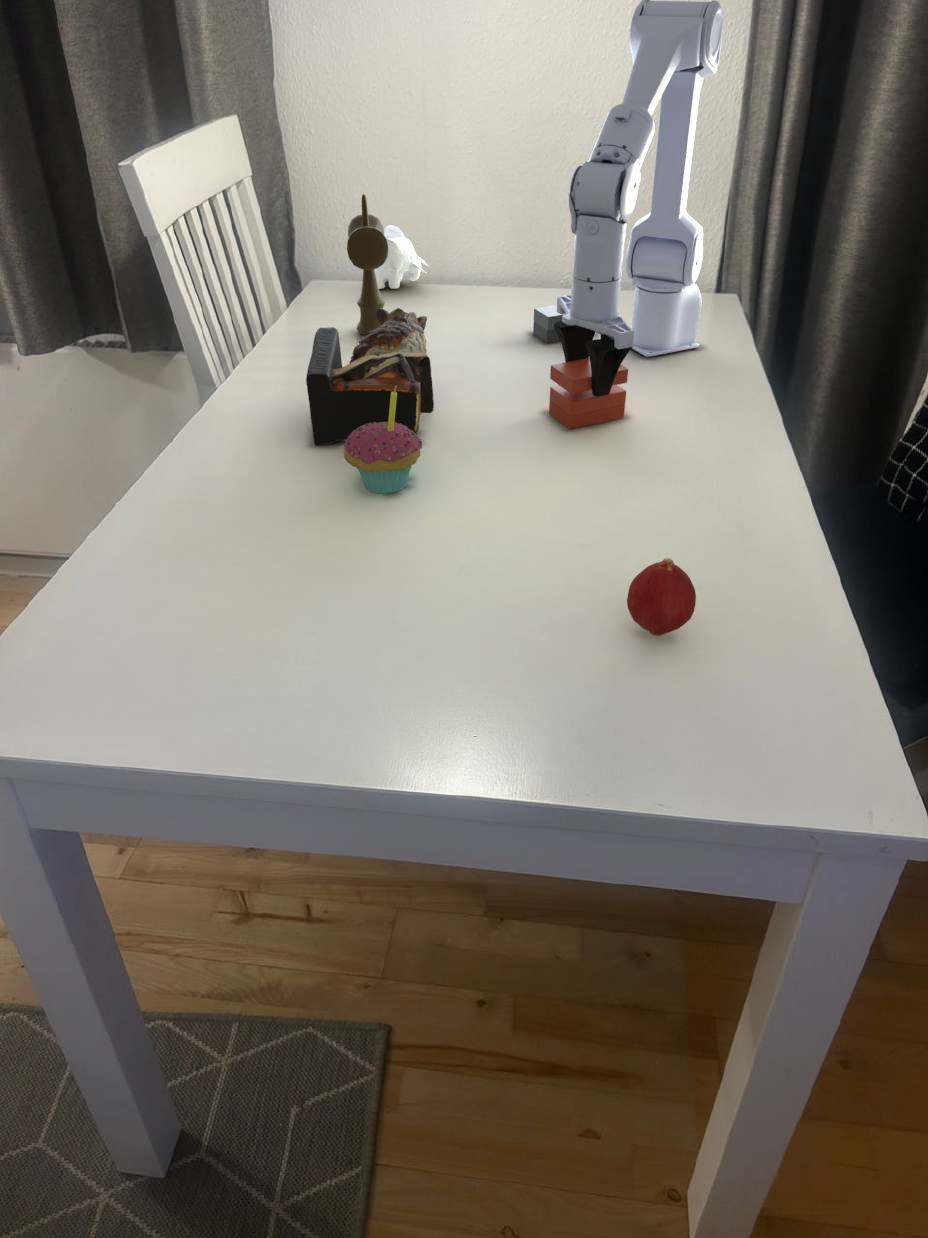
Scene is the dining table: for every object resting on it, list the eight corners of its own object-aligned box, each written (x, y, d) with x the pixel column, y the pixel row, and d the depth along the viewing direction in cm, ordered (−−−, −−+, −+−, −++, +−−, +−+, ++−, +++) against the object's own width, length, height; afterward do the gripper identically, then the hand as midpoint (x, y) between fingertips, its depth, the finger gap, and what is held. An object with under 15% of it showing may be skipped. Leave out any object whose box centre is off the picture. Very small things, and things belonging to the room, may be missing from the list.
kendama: (354, 343, 139) (342, 202, 126) (353, 322, 146) (342, 187, 134) (393, 342, 139) (386, 201, 127) (390, 320, 147) (383, 185, 135)
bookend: (302, 379, 105) (318, 288, 123) (316, 459, 112) (329, 362, 130) (431, 372, 105) (427, 282, 123) (436, 453, 112) (432, 357, 130)
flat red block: (604, 367, 118) (605, 354, 117) (627, 382, 114) (628, 368, 113) (549, 378, 115) (550, 364, 114) (571, 394, 111) (572, 380, 110)
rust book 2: (602, 389, 120) (603, 375, 119) (625, 404, 116) (626, 390, 115) (549, 399, 117) (550, 386, 116) (570, 415, 113) (571, 402, 112)
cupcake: (433, 473, 105) (430, 373, 98) (405, 508, 99) (400, 404, 92) (365, 462, 107) (357, 363, 100) (334, 496, 101) (322, 393, 94)
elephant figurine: (426, 293, 158) (425, 239, 152) (357, 292, 158) (353, 238, 153) (431, 276, 165) (429, 224, 160) (365, 275, 166) (362, 224, 161)
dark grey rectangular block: (577, 326, 144) (578, 313, 143) (592, 335, 141) (593, 322, 140) (532, 333, 141) (533, 321, 140) (547, 343, 138) (547, 330, 137)
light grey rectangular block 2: (578, 313, 143) (579, 300, 142) (593, 322, 140) (594, 309, 138) (533, 321, 140) (533, 308, 139) (547, 330, 137) (548, 317, 136)
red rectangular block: (601, 402, 121) (602, 389, 120) (623, 417, 117) (625, 404, 116) (548, 413, 118) (549, 399, 117) (569, 429, 114) (570, 415, 113)
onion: (617, 615, 83) (625, 540, 78) (679, 611, 83) (691, 537, 79) (631, 655, 78) (641, 578, 74) (697, 651, 79) (711, 575, 74)
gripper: (537, 263, 111) (533, 371, 119) (600, 297, 100) (591, 413, 108) (587, 256, 113) (579, 362, 121) (654, 288, 103) (641, 402, 111)
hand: (588, 385), depth 115 cm, fingers closed on flat red block, 5 cm apart
